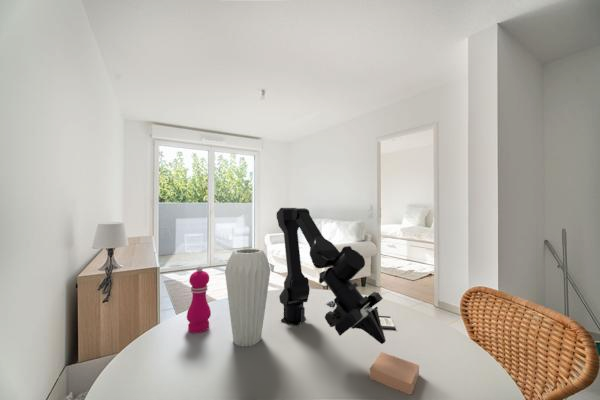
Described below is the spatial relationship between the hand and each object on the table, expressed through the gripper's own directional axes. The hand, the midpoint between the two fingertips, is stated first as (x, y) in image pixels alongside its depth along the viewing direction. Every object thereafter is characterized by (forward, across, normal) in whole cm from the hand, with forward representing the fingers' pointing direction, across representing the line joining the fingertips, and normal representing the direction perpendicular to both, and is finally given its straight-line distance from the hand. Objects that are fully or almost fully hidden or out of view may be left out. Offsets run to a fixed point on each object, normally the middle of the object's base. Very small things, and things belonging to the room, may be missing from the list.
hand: (383, 342), depth 62 cm
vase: (-22, +9, -32) cm, 39 cm away
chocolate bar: (-4, -23, -15) cm, 28 cm away
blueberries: (-16, -30, -27) cm, 43 cm away
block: (+3, 0, -6) cm, 6 cm away
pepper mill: (-34, +14, -44) cm, 57 cm away
